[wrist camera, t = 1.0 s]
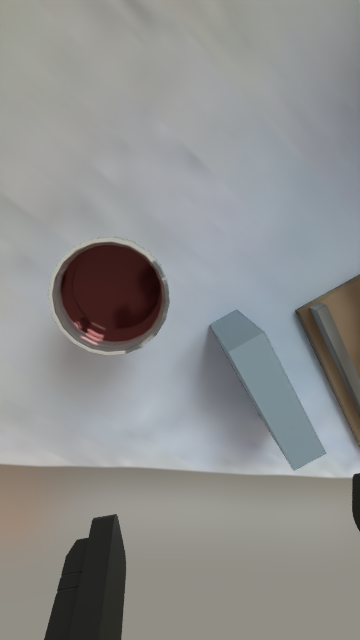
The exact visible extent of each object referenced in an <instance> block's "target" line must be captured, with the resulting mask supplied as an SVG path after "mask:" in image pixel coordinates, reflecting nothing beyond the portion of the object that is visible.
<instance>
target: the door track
mask: <svg viewBox="0 0 360 640" xmlns="http://www.w3.org/2000/svg"><path fill="white" fill-rule="evenodd" d="M296 312H297V315H298V317H299V319H300V321H301V323H302V325H303V327H304V329H305V332H306V334H307V336H308V338H309V340H310V342H311V344H312V346H313V349H314V351H315V353H316V355H317V357H318V359H319V361H320V363H321V366H322V368H323V370H324V372H325V374H326V376H327V378H328V380H329V383H330V385H331V387H332V389H333V391H334V393H335V395H336V397H337V400H338V402H339V404H340V406H341V408H342V410H343V412H344V414H345V417H346V419H347V421H348V423H349V425H350V427H351V429H352V431H353V433H354V436H355V438H356V440H357V442H358V444H359V446H360V275H358V276H356V277H354V278H353V279H351V280H349V281H347V282H345V283H344V284H342V285H340V286H338V287H336V288H335V289H333V290H331V291H329V292H327V293H326V294H324V295H322V296H320V297H319V298H317V299H315V300H313V301H311V302H310V303H308V304H306V305H304V306H302V307H301V308H299V309H297V310H296Z"/></svg>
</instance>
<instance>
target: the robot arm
mask: <svg viewBox="0 0 360 640" xmlns="http://www.w3.org/2000/svg"><path fill="white" fill-rule="evenodd" d="M352 494H353V495H352V499H353V500H352V512H353V517H354V520H355V523H356V525H357V527H358V529H359V531H360V473H358V474H354V476H353V491H352ZM125 579H126V558H125V550H124V545H123V540H122V535H121V531H120V525H119V520H118V516H117V515H116V514H115V515H109V516H103V517H97V518H94V519H93V520H92V525H91V529H90V534H89V538H84V539H79V540H77V541H76V542H75V544H74V545H73V547H72V548H71V550H70V551H69V553H68V554H67V556H66V559H65V563H64V567H63V571H62V577H61V578H60V582H59V585H58V589H57V591H58V592H57V594H56V597H55V601H54V604H53V608H52V612H51V616H50V620H49V623H48V628H47V631H46V635H45V639H44V640H121V634H122V620H123V606H124V593H125Z"/></svg>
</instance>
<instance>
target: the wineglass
mask: <svg viewBox="0 0 360 640" xmlns="http://www.w3.org/2000/svg"><path fill="white" fill-rule="evenodd" d="M48 297H49V303H50V309H51V314H52V316H53V317H54V319H55V321H56V323H57V325H58V327H59V329H60V330H61V331H62V332H63V333H64V334H65V335H66V336H67V337H68V338H69V339H70V340H71V341H72V342H73V343H74V344H76V345H78V346H80V347H82V348H84V349H85V350H87V351H89V352H93V353H98V354H103V355H117V354H126V353H129V352H131V351H133V350H136V349H138V348H141V347H143V346H144V345H145V344H146V343H147V342H149V341H150V340H151V339H152V338H153V337H155V336H156V334H157V333H158V331H159V330H160V328H161V326H162V325H163V323H164V322H165V319H166V315H167V311H168V307H169V291H168V283H167V278H166V276H165V274H164V271H163V269H162V266H161V264H160V263H159V262H158V260H157V259H156V258H155V257H154V256H153V255H152V253H151V252H150V251H149V250H147V249H146V248H144V247H142V246H141V245H139V244H138V243H136V242H134V241H132V240H128V239H124V238H120V237H104V238H96V239H91V240H89V241H86V242H84V243H82V244H79V245H77V246H75V247H73V248H72V249H71V250H70V251H69V252H68V253H67V254H66V255H65V256H63V257H62V258H61V259H60V261H59V263H58V264H57V266H56V268H55V270H54V272H53V274H52V275H51V280H50V286H49V292H48Z"/></svg>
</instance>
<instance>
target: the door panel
mask: <svg viewBox="0 0 360 640" xmlns="http://www.w3.org/2000/svg"><path fill="white" fill-rule="evenodd" d="M210 327H211V329H212V330H213V332H214V334H215V336H216V338H217V339H218V341H219V343H220V345H221V347H222V348H223V350H224V352H225V354H226V356H227V357H228V359H229V361H230V363H231V365H232V366H233V368H234V370H235V372H236V374H237V375H238V377H239V379H240V381H241V383H242V384H243V386H244V388H245V390H246V392H247V393H248V395H249V397H250V399H251V401H252V402H253V404H254V406H255V408H256V410H257V411H258V413H259V415H260V417H261V419H262V420H263V422H264V424H265V425H266V427H267V428H268V430H269V432H270V433H271V435H272V436H273V438H274V440H275V441H276V443H277V444H278V446H279V448H280V449H281V451H282V453H283V454H284V456H285V457H286V459H287V461H288V462H289V464H290V465H291V467H292V469H293V470H296V469H298V468H300V467H302V466H304V465H306V464H307V463H309V462H311V461H313V460H315V459H317V458H319V457H320V456H322V455H324V454H326V452H325V450H324V448H323V446H322V444H321V442H320V440H319V438H318V436H317V434H316V432H315V430H314V428H313V426H312V425H311V423H310V421H309V419H308V417H307V415H306V413H305V411H304V409H303V407H302V405H301V403H300V401H299V399H298V397H297V395H296V393H295V391H294V389H293V387H292V385H291V383H290V381H289V379H288V377H287V375H286V373H285V371H284V369H283V367H282V366H281V364H280V362H279V360H278V358H277V356H276V354H275V352H274V350H273V348H272V346H271V344H270V342H269V340H268V338H267V336H266V334H265V332H264V331H263V330H261V329H260V328H259V327H258V326H256V325H255V324H254V323H253V322H252V321H250V320H249V319H248V318H247V317H245V316H244V315H243V314H242V313H240V312H239V311H238V310H235V311H233V312H231V313H230V314H228V315H226V316H224V317H222V318H221V319H219V320H217V321H215V322H214V323H212V324H210Z"/></svg>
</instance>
